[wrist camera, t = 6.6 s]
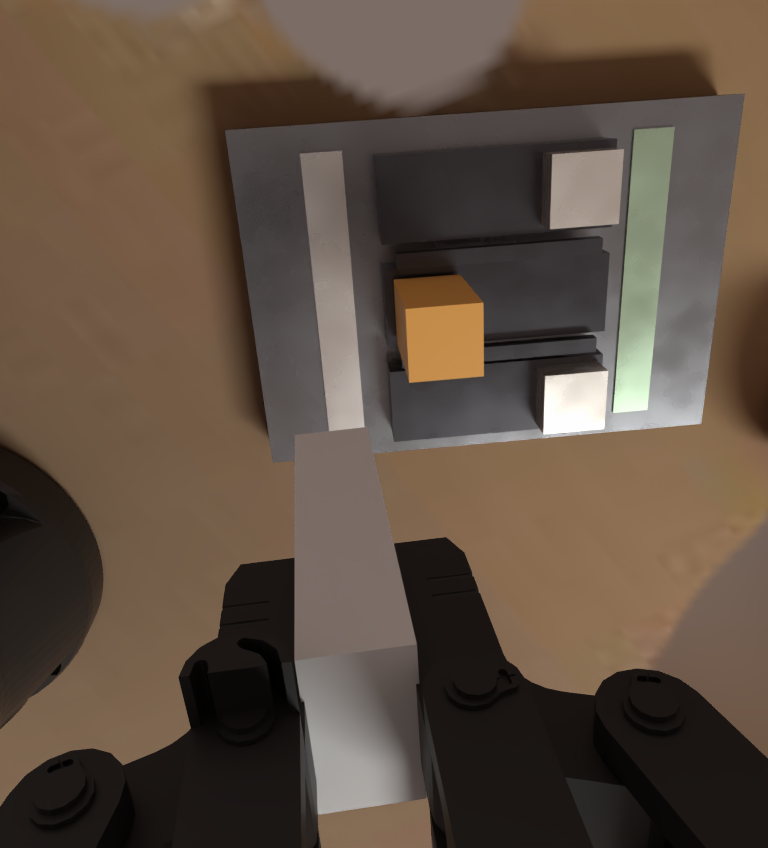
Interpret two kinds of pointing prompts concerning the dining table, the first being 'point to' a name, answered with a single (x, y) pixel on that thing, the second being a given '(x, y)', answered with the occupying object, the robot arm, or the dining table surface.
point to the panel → (362, 136)
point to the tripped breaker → (439, 328)
